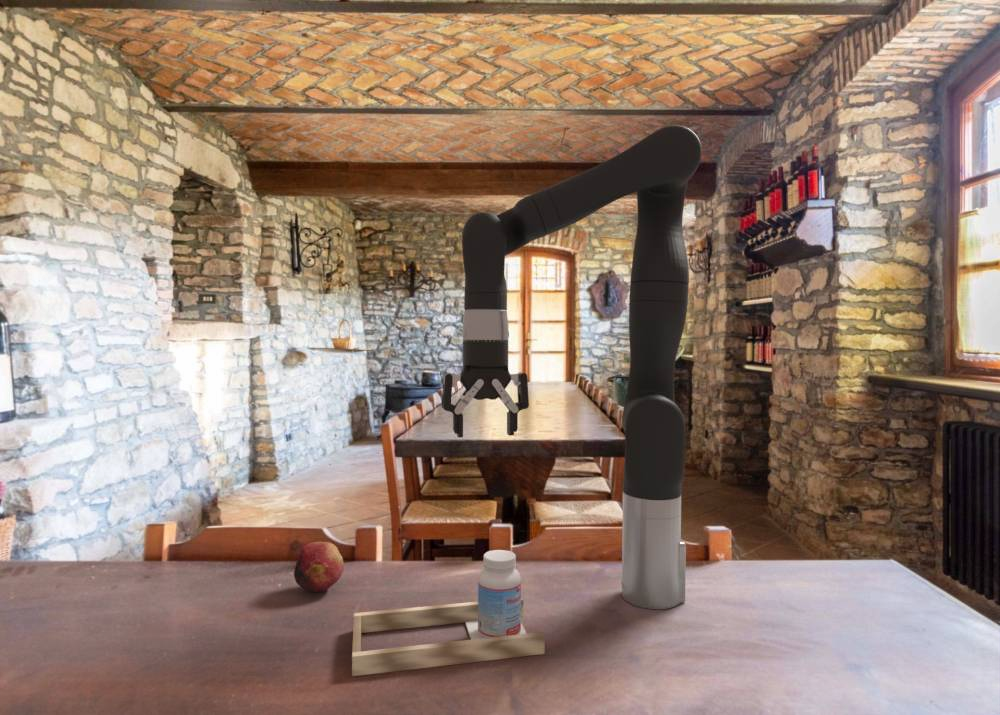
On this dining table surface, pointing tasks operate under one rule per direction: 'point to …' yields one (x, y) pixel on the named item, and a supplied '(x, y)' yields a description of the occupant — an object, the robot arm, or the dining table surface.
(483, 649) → the bay
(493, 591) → the pill bottle
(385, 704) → the dining table surface
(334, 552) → the fruit
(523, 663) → the dining table surface
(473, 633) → the front pad
